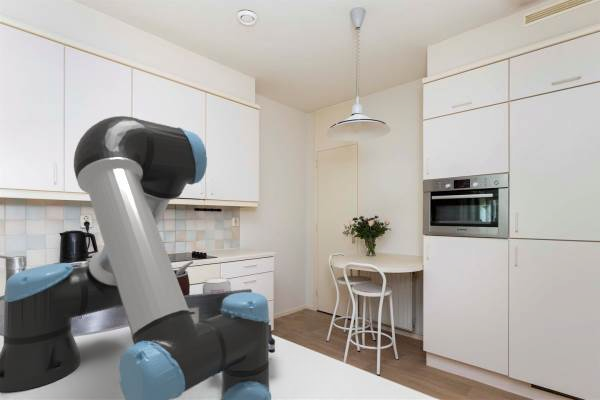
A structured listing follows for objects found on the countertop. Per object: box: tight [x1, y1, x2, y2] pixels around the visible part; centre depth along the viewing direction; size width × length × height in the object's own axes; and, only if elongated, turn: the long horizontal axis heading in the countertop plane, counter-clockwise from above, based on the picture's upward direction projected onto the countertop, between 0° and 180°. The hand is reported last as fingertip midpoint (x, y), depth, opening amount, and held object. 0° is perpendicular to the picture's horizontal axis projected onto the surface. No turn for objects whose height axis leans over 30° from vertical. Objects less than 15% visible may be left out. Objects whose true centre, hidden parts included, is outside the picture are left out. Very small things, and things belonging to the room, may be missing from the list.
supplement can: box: [202, 277, 232, 294], centre depth 94 cm, size 8×8×15 cm
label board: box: [184, 288, 253, 324], centre depth 82 cm, size 22×2×14 cm, turn 112°
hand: (242, 321), depth 82 cm, fingers closed on beverage can, 6 cm apart
